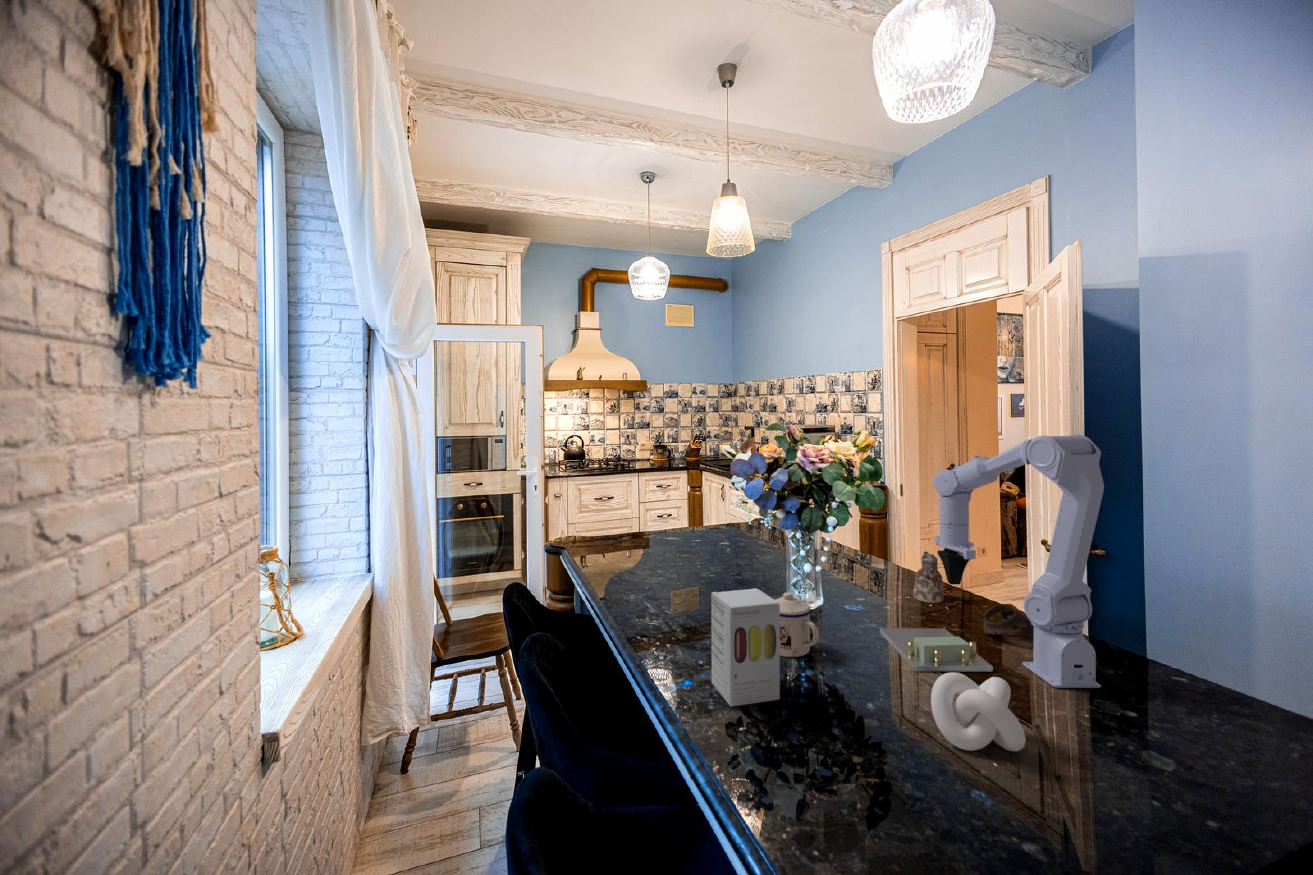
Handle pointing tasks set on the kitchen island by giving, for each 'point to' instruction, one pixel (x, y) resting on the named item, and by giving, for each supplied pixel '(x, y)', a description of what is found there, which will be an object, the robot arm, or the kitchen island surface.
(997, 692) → the white decorative knot
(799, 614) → the teacup with lid
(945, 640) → the pale green block
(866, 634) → the kitchen island surface
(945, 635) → the chassis
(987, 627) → the pottery mug
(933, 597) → the figurine
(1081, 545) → the robot arm
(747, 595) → the supplement box
